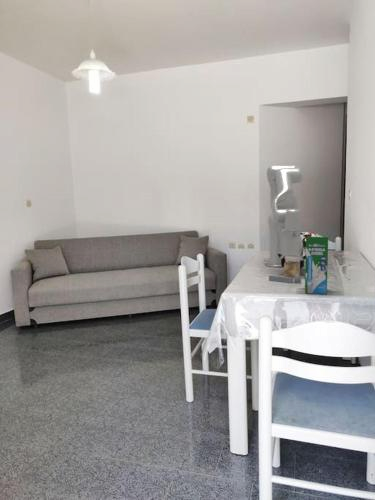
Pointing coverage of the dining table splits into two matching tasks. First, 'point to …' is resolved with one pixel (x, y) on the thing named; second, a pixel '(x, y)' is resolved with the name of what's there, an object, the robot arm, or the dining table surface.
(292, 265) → the block
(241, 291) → the dining table surface
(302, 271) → the bay
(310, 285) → the milk carton
